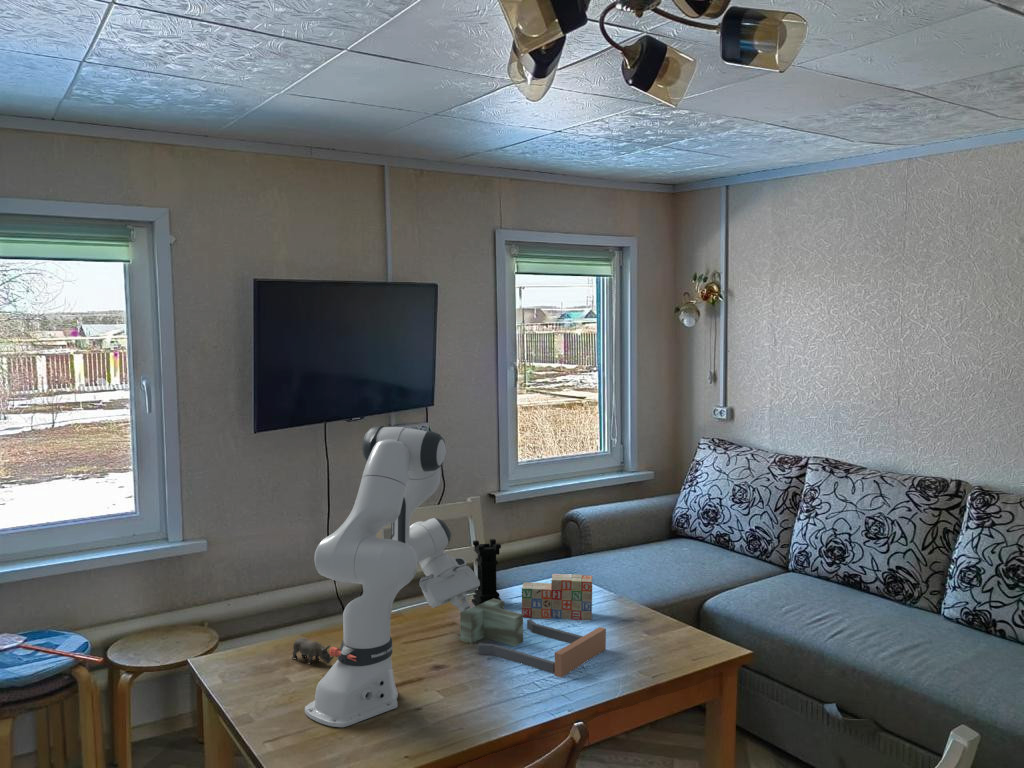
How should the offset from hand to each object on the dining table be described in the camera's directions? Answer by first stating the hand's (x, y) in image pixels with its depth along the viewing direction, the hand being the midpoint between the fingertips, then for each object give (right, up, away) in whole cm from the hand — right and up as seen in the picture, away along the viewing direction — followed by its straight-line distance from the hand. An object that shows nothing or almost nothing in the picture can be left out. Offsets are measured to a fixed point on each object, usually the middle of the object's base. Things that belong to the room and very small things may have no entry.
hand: (466, 609), depth 242 cm
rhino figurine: (-39, -8, -23) cm, 46 cm away
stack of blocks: (+27, -5, +11) cm, 30 cm away
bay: (+22, -7, -16) cm, 28 cm away
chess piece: (+5, -4, +21) cm, 22 cm away
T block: (+9, -6, -7) cm, 13 cm away
